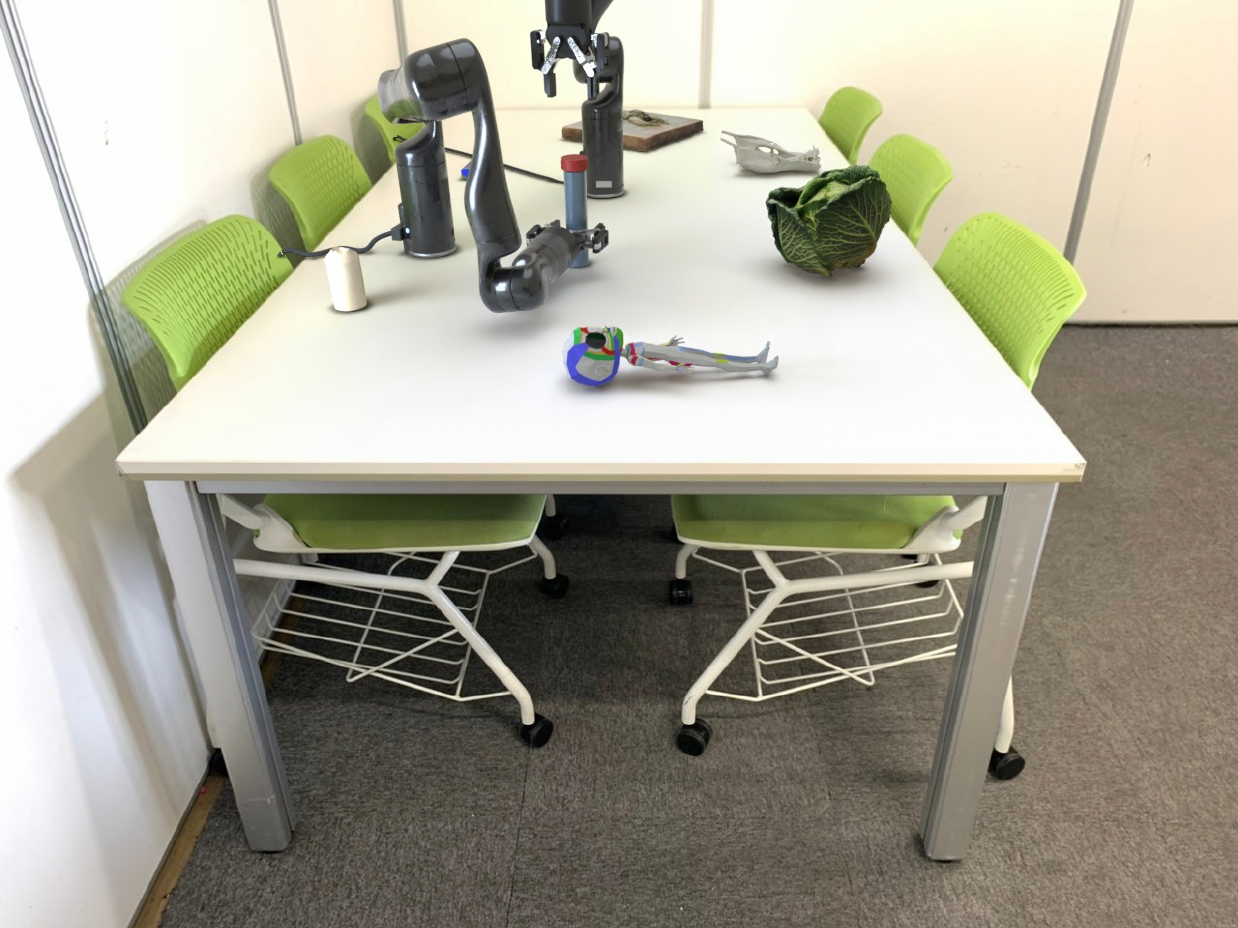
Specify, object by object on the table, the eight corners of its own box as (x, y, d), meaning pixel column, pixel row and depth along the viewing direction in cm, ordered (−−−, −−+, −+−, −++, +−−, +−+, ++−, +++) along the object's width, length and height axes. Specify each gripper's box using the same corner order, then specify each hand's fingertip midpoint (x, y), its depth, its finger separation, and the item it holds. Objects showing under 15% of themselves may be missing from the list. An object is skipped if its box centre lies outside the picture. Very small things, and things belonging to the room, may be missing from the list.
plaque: (647, 125, 237) (559, 112, 252) (647, 153, 241) (560, 139, 256) (706, 107, 258) (622, 97, 273) (705, 133, 262) (622, 121, 277)
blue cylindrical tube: (566, 267, 168) (561, 162, 157) (568, 260, 171) (564, 157, 161) (588, 267, 167) (584, 162, 157) (590, 260, 171) (586, 157, 161)
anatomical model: (722, 127, 227) (822, 125, 223) (721, 164, 232) (819, 163, 228) (719, 141, 215) (824, 139, 211) (718, 179, 220) (821, 179, 216)
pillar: (489, 151, 236) (469, 170, 219) (489, 159, 237) (470, 179, 220) (481, 151, 236) (460, 170, 220) (481, 159, 237) (461, 179, 221)
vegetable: (790, 294, 172) (743, 202, 165) (870, 239, 174) (827, 145, 166) (841, 308, 154) (791, 205, 146) (931, 246, 155) (886, 140, 148)
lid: (559, 172, 158) (558, 160, 157) (562, 165, 162) (562, 154, 161) (586, 172, 158) (586, 160, 157) (589, 165, 162) (589, 154, 161)
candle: (373, 301, 154) (363, 244, 149) (355, 313, 150) (344, 255, 145) (346, 297, 156) (335, 241, 150) (327, 309, 151) (316, 252, 146)
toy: (785, 354, 123) (568, 337, 118) (772, 408, 127) (562, 393, 123) (768, 325, 132) (564, 307, 127) (755, 376, 136) (559, 361, 131)
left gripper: (588, 236, 150) (616, 209, 163) (509, 230, 154) (543, 203, 167) (589, 279, 154) (616, 249, 167) (513, 272, 158) (545, 243, 171)
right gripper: (617, -11, 145) (618, 97, 154) (540, -13, 150) (546, 92, 159) (596, -7, 139) (599, 105, 148) (517, -9, 145) (524, 99, 153)
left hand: (580, 226), depth 167 cm, fingers open, 8 cm apart
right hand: (571, 98), depth 154 cm, fingers open, 7 cm apart
